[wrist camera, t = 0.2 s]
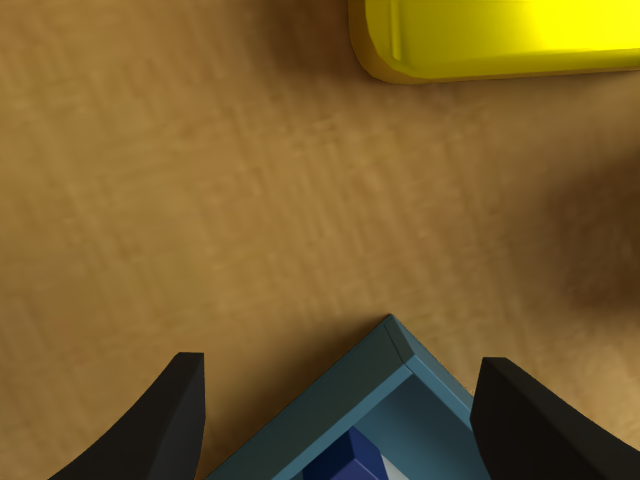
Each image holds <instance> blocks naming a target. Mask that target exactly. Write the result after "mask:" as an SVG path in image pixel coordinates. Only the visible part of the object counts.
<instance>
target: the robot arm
mask: <svg viewBox="0 0 640 480" xmlns="http://www.w3.org/2000/svg"><path fill="white" fill-rule="evenodd" d="M205 418H206V415H205V378H204V353H192V352H179V353H178V354H177V355H175V356H174V358H173V359H172V360H171V362H170V363H169V364H168V365H167V367H166V368H165V369H164V370H163V372H162V373H161V374H160V375H159V377H158V378H157V379H156V380H155V381H154V382H153V384H152V385H151V386H150V387H149V388H148V389H147V390H146V392H145V393H144V394H143V395H142V396H141V397H140V398H139V399H138V400H137V402H136V403H135V404H134V405H133V406H132V407H131V408H130V409H129V410H128V411H127V412H126V413H125V414H124V415H123V416H122V417H121V418H120V419H119V420H118V421H117V422H116V423H115V424H114V425H113V426H112V427H111V428H110V429H109V430H108V431H107V432H106V433H105V434H104V435H103V436H101V437H100V438H99V439H98V440H97V441H96V442H95V443H94V444H93V445H91V446H90V447H89V448H88V449H87V450H86V451H84V452H83V453H82V454H81V455H80V456H78V457H77V458H76V459H75V460H73V461H72V462H71V463H70V464H68V465H67V466H66V467H64V468H63V469H62V470H60V471H59V472H57V473H56V474H55V475H53V476H52V477H50V478H49V479H48V480H194V477H195V473H196V469H197V465H198V461H199V457H200V452H201V446H202V439H203V432H204V425H205ZM469 420H470V424H471V427H472V430H473V434H474V437H475V441H476V444H477V447H478V450H479V453H480V456H481V458H482V460H483V463H484V465H485V467H486V469H487V472H488V474H489V476H490V478H491V480H640V451H638V450H636V449H635V448H633V447H631V446H629V445H628V444H626V443H624V442H623V441H621V440H620V439H618V438H617V437H615V436H613V435H612V434H610V433H609V432H607V431H606V430H604V429H603V428H601V427H600V426H599V425H597V424H596V423H594V422H593V421H591V420H590V419H588V418H587V417H585V416H584V415H583V414H581V413H580V412H578V411H577V410H576V409H574V408H573V407H571V406H570V405H569V404H567V403H566V402H565V401H563V400H562V399H561V398H559V397H558V396H557V395H555V394H554V393H553V392H551V391H550V390H549V389H547V388H546V387H545V386H544V385H542V384H541V383H540V382H538V381H537V380H536V379H534V378H533V377H532V376H531V375H529V374H528V373H527V372H525V371H524V370H523V369H521V368H520V367H519V366H517V365H516V364H514V363H513V362H512V361H510V360H509V359H507V358H503V357H483V359H482V364H481V368H480V373H479V377H478V382H477V386H476V391H475V395H474V400H473V404H472V409H471V413H470V418H469Z"/></svg>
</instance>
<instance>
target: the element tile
mask: <svg viewBox="0 0 640 480" xmlns="http://www.w3.org/2000/svg"><path fill="white" fill-rule="evenodd" d="M348 19H349V34H350V39H351V44H352V48H353V50H354V52H355V55H356V57H357V59H358V61H359V63H360V65H361V66H362V67H363V68H364V69H365V70H366V71H367V72H368V73H369V74H370V75H371V76H372V77H374V78H377V79H379V80H382V81H385V82H387V83H390V84H399V85H412V84H427V83H443V82H459V81H475V80H491V79H506V78H522V77H538V76H554V75H569V74H585V73H601V72H617V71H633V70H640V0H348Z"/></svg>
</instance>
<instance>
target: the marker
mask: <svg viewBox="0 0 640 480" xmlns="http://www.w3.org/2000/svg"><path fill="white" fill-rule="evenodd" d="M302 474H303V480H409V479H408V478H407V477H406V476H405V475H404V474H403V473H401V472H400V471H399V470H398V469H397V468H396V467H395V466H394V465H393V464H392V463H391V462H389V461H388V460H387V459H386V458H385V457H384V456H383V455H382V454H381V453H380V450H379V449H378V448H377V447H376V446H375V445H374V444H373V443H372V442H370V441H369V440H368V439H367V438H366V437H365V436H364V435H363V434H362V433H361V432H360V431H359V430H357V429H356V428H355V427H354V426H351V427H350V428H349V429H348V430H347V431H346V432H345V433H343V434H342V435H341V436H340V437H339V438H338V439H336V440H335V441H334V442H333V443H332V444H331V445H330V446H328V447H327V448H326V449H325V450H324V451H323V452H321V453H320V454H319V455H318V456H317V457H316V458H315V459H313V460H312V461H311V462H310V463H309V464H308V465H306V466H305V467H304V468H303V469H302Z"/></svg>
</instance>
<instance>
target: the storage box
mask: <svg viewBox="0 0 640 480" xmlns="http://www.w3.org/2000/svg"><path fill="white" fill-rule="evenodd" d="M473 400H474V398H473V397H472V395H471V394H470V393H469V392H468V391H467V390H466V389H465V388H464V387H463V386H462V385H461V384H460V383H459V382H458V381H457V380H456V379H455V378H454V377H453V376H452V375H451V374H450V373H449V372H448V371H447V370H446V369H445V368H444V367H443V366H442V365H441V364H440V363H439V362H438V361H437V360H436V359H435V358H434V357H433V355H432V354H431V353H430V352H429V351H428V350H427V349H426V348H425V347H424V346H423V345H422V344H421V343H420V342H419V341H418V340H417V339H416V338H415V337H414V336H413V335H412V334H411V333H410V332H409V331H408V330H407V329H406V328H405V327H404V326H403V325H402V324H401V323H400V322H399V321H398V320H397V319H396V318H395V317H394V315H393V314H390V315H389V316H388V317H387V318H386V319H385V320H384V321H383V322H381V323H380V324H379V325H378V326H377V327H376V328H375V329H374V330H372V331H371V332H370V333H369V334H368V335H367V336H366V337H365V338H363V339H362V340H361V341H360V342H359V343H358V344H357V345H356V346H354V347H353V348H352V349H351V350H350V351H349V352H348V353H347V354H345V355H344V356H343V357H342V358H341V359H340V360H339V361H337V362H336V363H335V364H334V365H333V366H332V367H331V368H330V369H328V370H327V371H326V372H325V373H324V374H323V375H322V376H321V377H319V378H318V379H317V380H316V381H315V382H314V383H313V384H312V385H310V386H309V387H308V388H307V389H306V390H305V391H304V392H303V393H301V394H300V395H299V396H298V397H297V398H296V399H295V400H294V401H292V402H291V403H290V404H289V405H288V406H287V407H286V408H285V409H283V410H282V411H281V412H280V413H279V414H278V415H277V416H276V417H274V418H273V419H272V420H271V421H270V422H269V423H268V424H267V425H265V426H264V427H263V428H262V429H261V430H260V431H259V432H258V433H256V434H255V435H254V436H253V437H252V438H251V439H250V440H248V441H247V442H246V443H245V444H244V445H243V446H242V447H241V448H239V449H238V450H237V451H236V452H235V453H234V454H233V455H232V456H230V457H229V458H228V459H227V460H226V461H225V462H224V463H223V464H221V465H220V466H219V467H218V468H217V469H216V470H215V471H214V472H212V473H211V474H210V475H209V476H208V477H207V478H206V479H205V480H303V474H302V469H303V468H304V467H305V466H306V465H308V464H309V463H310V462H311V461H312V460H313V459H315V458H316V457H317V456H318V455H319V454H320V453H321V452H323V451H324V450H325V449H326V448H327V447H328V446H330V445H331V444H332V443H333V442H334V441H335V440H336V439H338V438H339V437H340V436H341V435H342V434H343V433H345V432H346V431H347V430H348V429H349V428H350V427H351V426H354V427H355V428H356V429H357V430H359V431H360V432H361V433H362V434H363V435H364V436H365V437H366V438H367V439H368V440H369V441H370V442H372V443H373V444H374V445H375V446H376V447H377V448H378V449H379V450H380V453H381V454H382V455H383V456H384V457H385V458H386V459H387V460H388V461H389V462H391V463H392V464H393V465H394V466H395V467H396V468H397V469H398V470H399V471H400V472H401V473H403V474H404V475H405V476H406V477H407V478H408V479H409V480H491V478H490V476H489V474H488V472H487V469H486V467H485V465H484V463H483V460H482V458H481V456H480V453H479V450H478V447H477V444H476V441H475V437H474V434H473V430H472V427H471V424H470V420H469V418H470V413H471V409H472V404H473Z"/></svg>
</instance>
